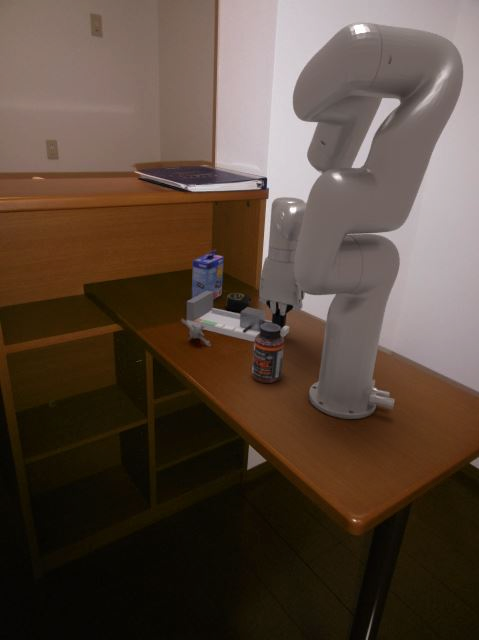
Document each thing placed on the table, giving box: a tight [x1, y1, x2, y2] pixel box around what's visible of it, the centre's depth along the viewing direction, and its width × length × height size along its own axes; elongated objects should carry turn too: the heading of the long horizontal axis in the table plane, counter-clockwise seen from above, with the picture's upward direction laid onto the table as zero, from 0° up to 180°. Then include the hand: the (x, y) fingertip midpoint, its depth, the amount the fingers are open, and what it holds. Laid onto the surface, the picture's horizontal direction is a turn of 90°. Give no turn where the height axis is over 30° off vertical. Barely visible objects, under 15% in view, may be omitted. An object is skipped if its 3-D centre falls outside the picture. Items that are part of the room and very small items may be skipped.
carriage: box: [239, 306, 267, 332], centre depth 112 cm, size 5×7×4 cm
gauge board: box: [186, 291, 290, 343], centre depth 114 cm, size 24×10×6 cm, turn 64°
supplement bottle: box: [251, 323, 285, 384], centre depth 91 cm, size 6×6×11 cm
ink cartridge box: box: [191, 249, 225, 300], centre depth 133 cm, size 10×6×14 cm, turn 155°
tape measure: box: [225, 292, 252, 312], centre depth 128 cm, size 7×7×4 cm
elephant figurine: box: [180, 318, 212, 347], centre depth 107 cm, size 9×5×8 cm
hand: (278, 327), depth 110 cm, fingers closed
